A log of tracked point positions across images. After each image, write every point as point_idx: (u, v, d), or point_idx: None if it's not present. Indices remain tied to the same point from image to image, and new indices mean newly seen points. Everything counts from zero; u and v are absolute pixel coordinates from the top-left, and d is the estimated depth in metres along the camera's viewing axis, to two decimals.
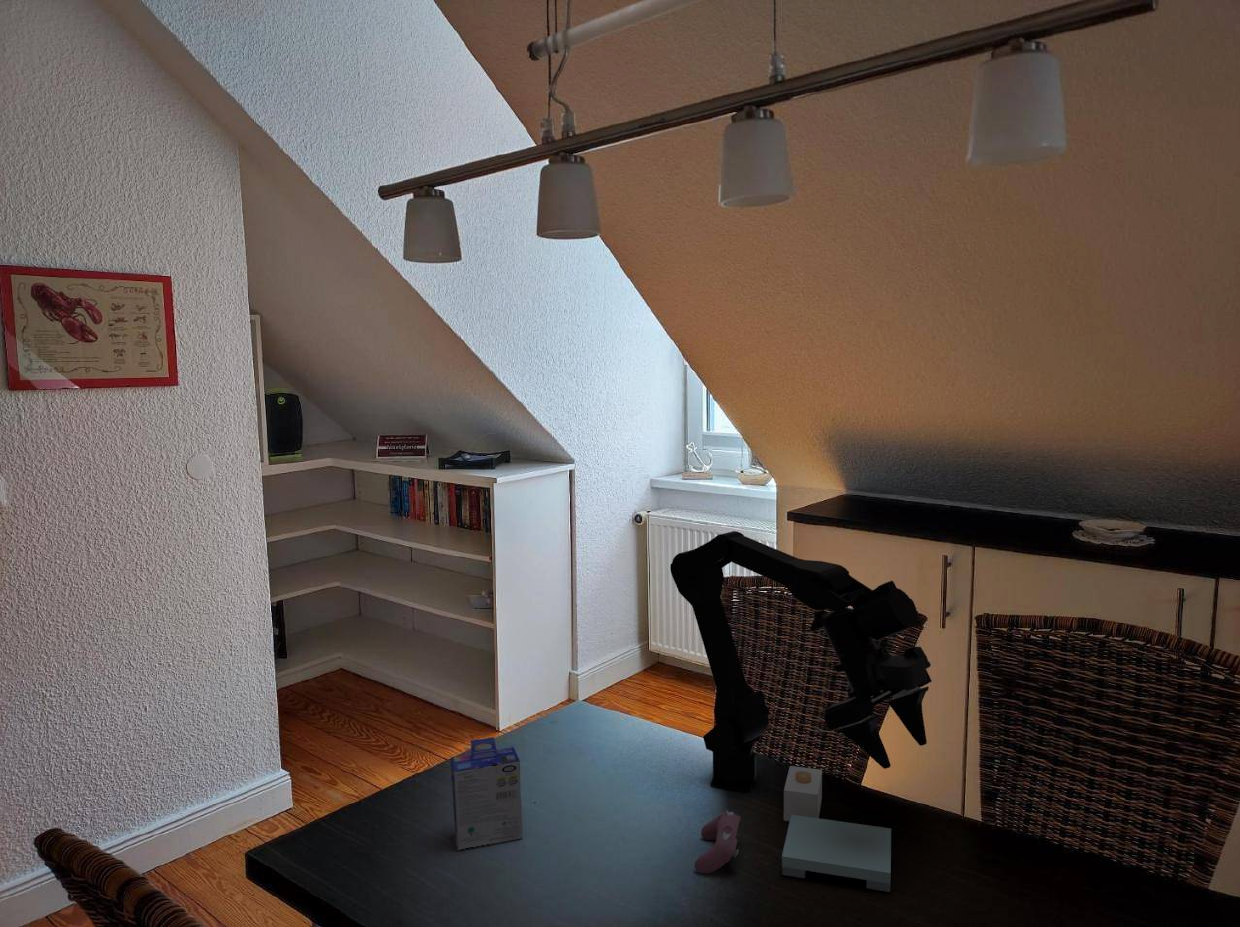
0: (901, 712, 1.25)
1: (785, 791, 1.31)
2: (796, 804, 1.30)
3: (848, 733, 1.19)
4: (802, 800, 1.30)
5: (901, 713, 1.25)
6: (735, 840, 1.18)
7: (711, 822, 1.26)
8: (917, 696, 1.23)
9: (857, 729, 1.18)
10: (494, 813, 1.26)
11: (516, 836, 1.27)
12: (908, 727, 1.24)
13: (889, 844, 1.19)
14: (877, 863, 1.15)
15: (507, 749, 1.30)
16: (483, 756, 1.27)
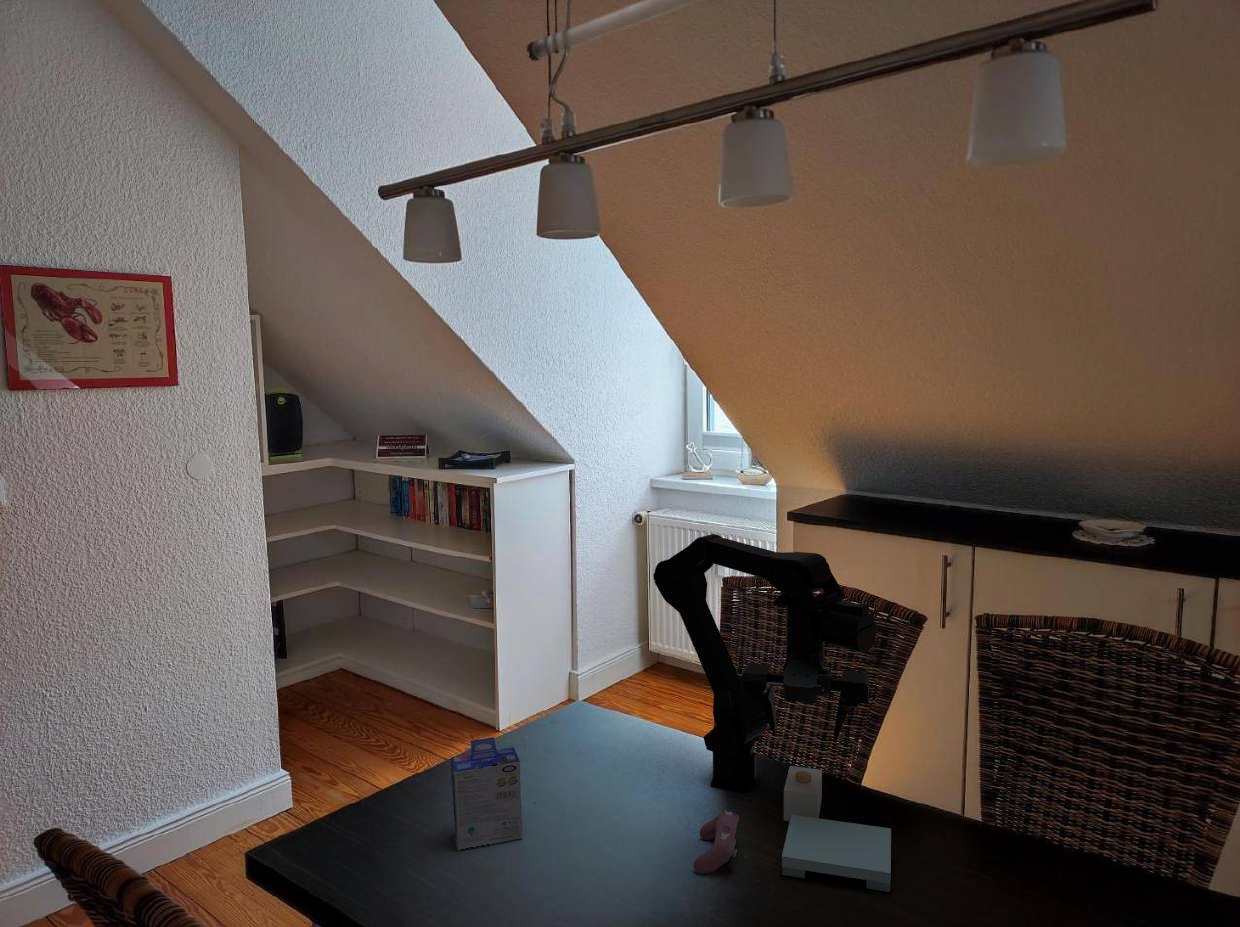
0: None
1: (785, 791, 1.31)
2: (796, 804, 1.30)
3: None
4: (802, 800, 1.30)
5: None
6: (734, 840, 1.18)
7: (710, 822, 1.26)
8: (838, 705, 1.28)
9: None
10: (494, 813, 1.26)
11: (516, 836, 1.27)
12: None
13: (889, 844, 1.19)
14: (877, 863, 1.15)
15: (507, 749, 1.30)
16: (483, 756, 1.27)
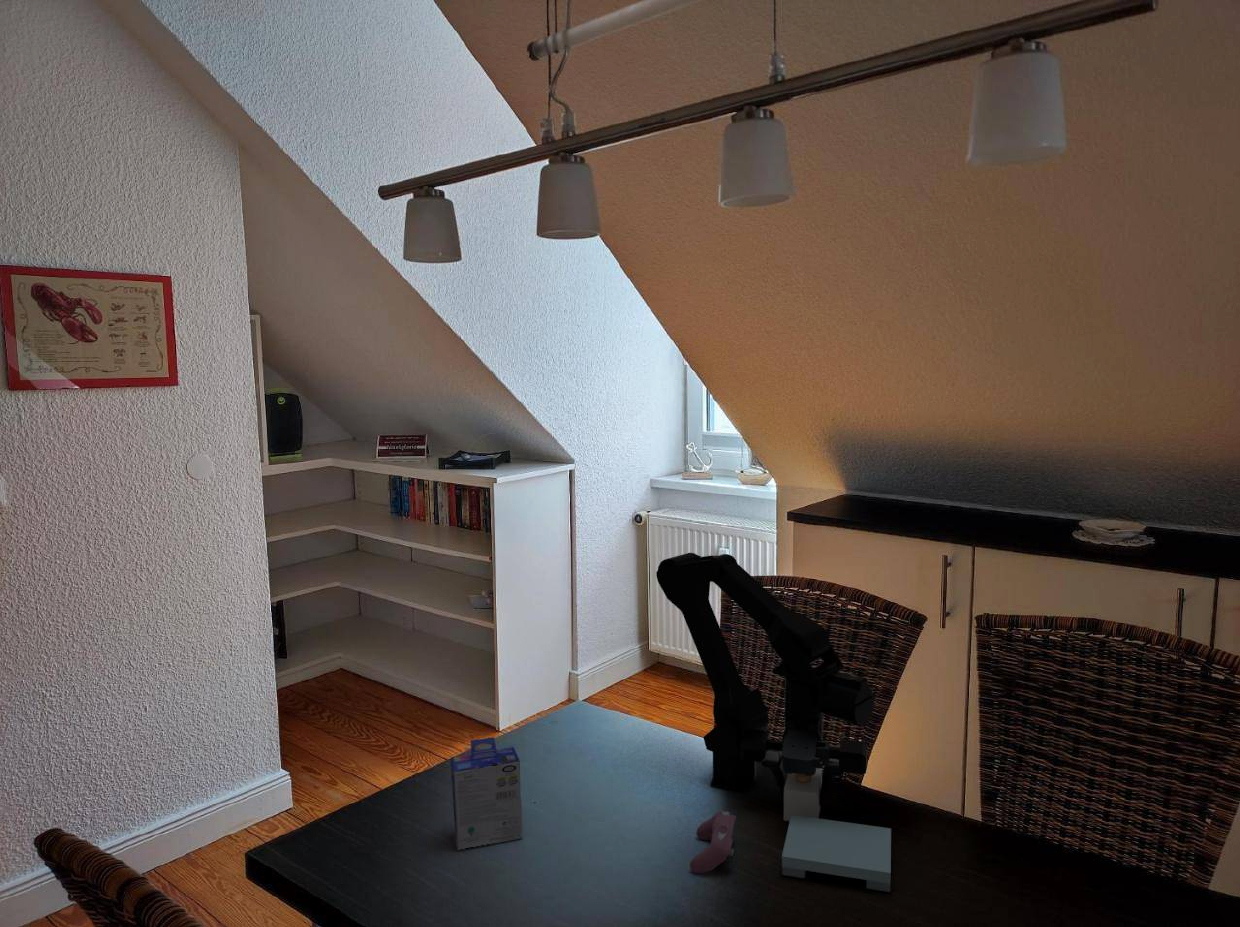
0: None
1: (785, 790, 1.31)
2: (796, 803, 1.30)
3: None
4: (802, 799, 1.30)
5: None
6: (730, 840, 1.18)
7: (706, 822, 1.26)
8: (823, 773, 1.30)
9: None
10: (494, 813, 1.26)
11: (516, 836, 1.27)
12: None
13: (889, 844, 1.19)
14: (877, 863, 1.15)
15: (507, 749, 1.30)
16: (483, 756, 1.27)
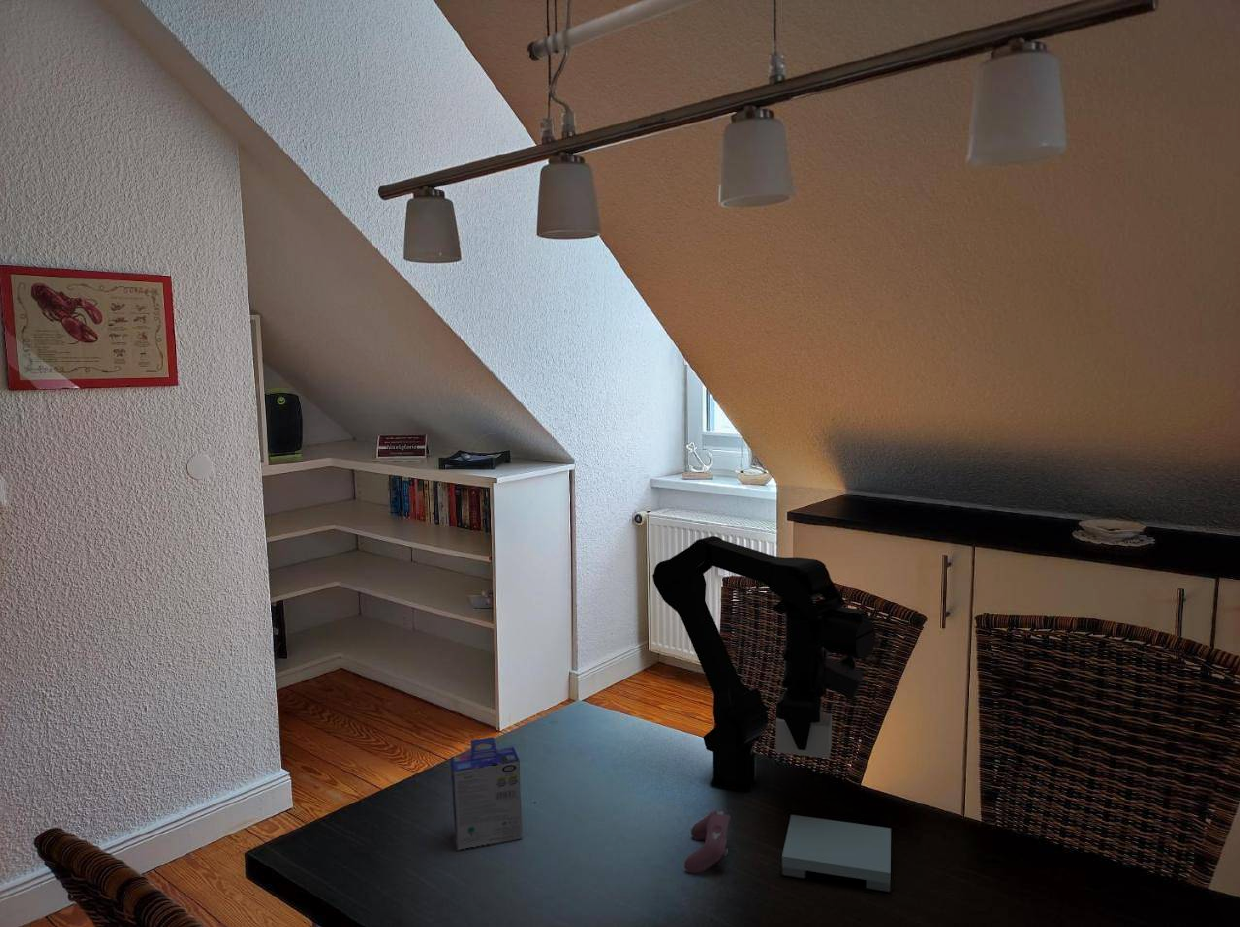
0: None
1: (829, 727, 1.29)
2: (830, 734, 1.31)
3: None
4: None
5: None
6: (725, 839, 1.18)
7: (701, 822, 1.26)
8: (821, 695, 1.34)
9: None
10: (494, 813, 1.26)
11: (516, 836, 1.27)
12: None
13: (889, 844, 1.19)
14: (877, 863, 1.15)
15: (507, 749, 1.30)
16: (483, 756, 1.27)
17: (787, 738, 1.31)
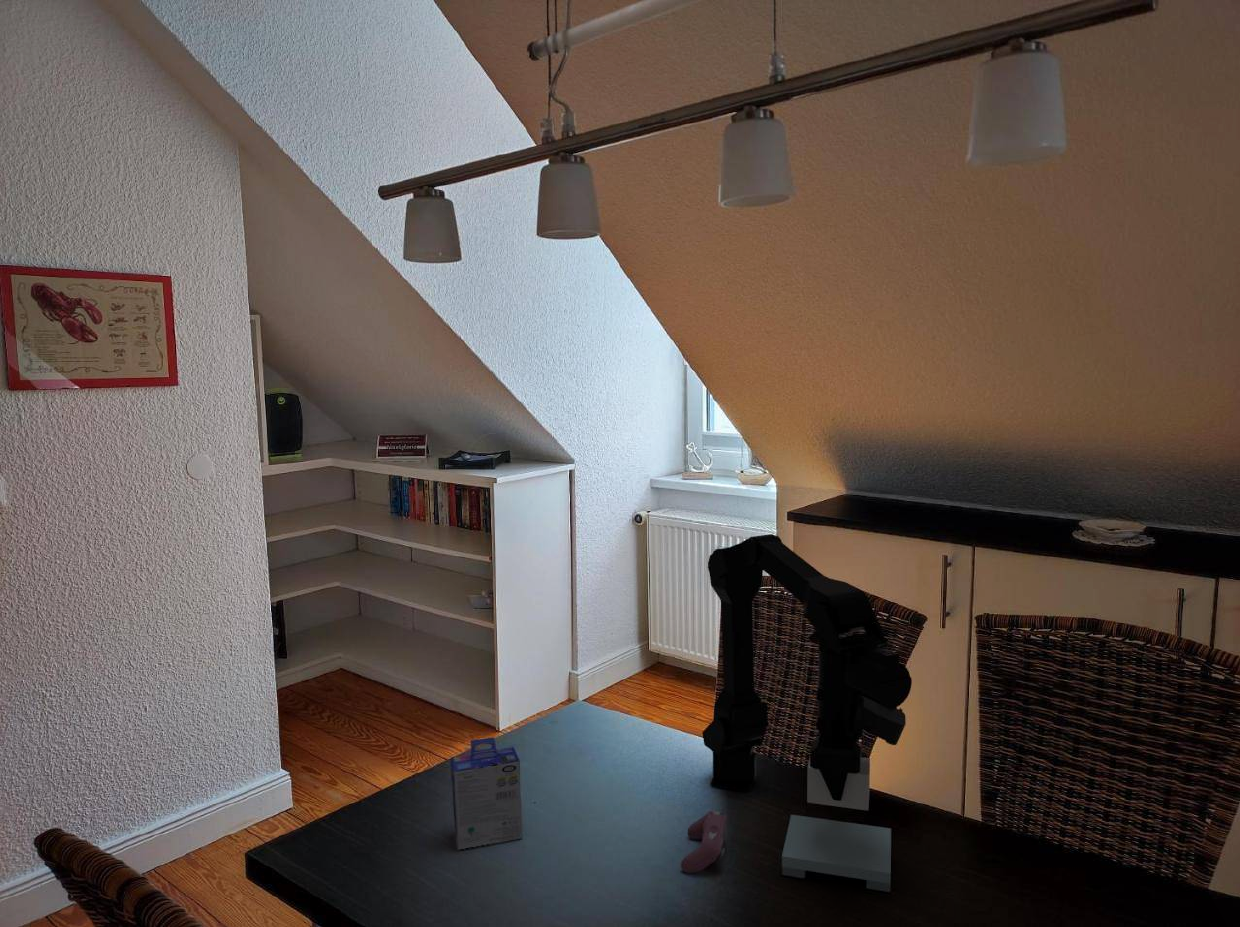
0: None
1: (869, 775, 1.15)
2: None
3: None
4: (869, 774, 1.18)
5: None
6: (721, 839, 1.18)
7: (697, 821, 1.26)
8: (857, 738, 1.20)
9: None
10: (494, 813, 1.26)
11: (516, 836, 1.27)
12: None
13: (889, 844, 1.19)
14: (877, 863, 1.15)
15: (507, 749, 1.30)
16: (483, 756, 1.27)
17: (821, 787, 1.17)
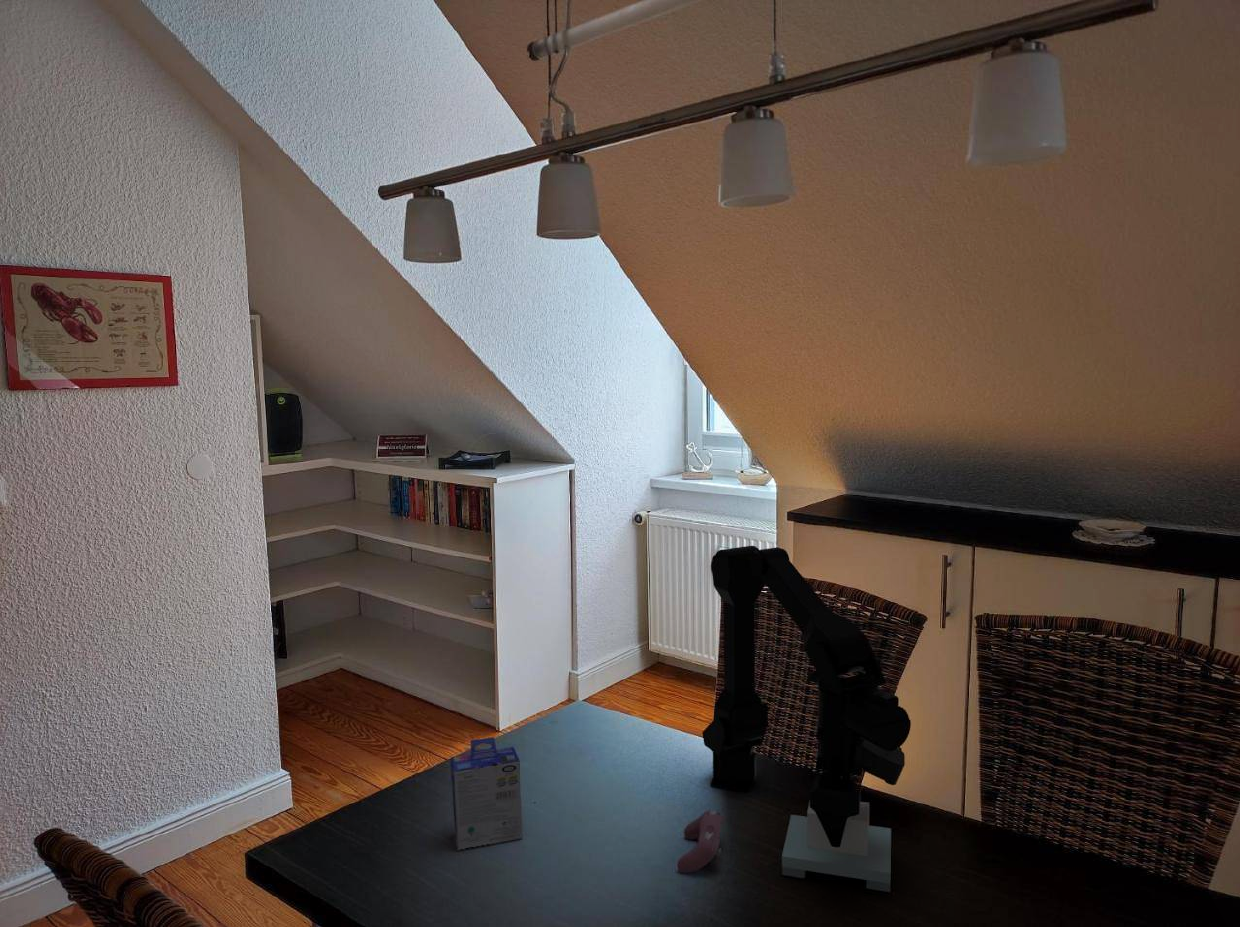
0: (831, 776, 1.24)
1: (868, 821, 1.16)
2: None
3: None
4: None
5: (830, 777, 1.24)
6: (718, 839, 1.18)
7: (694, 822, 1.26)
8: None
9: None
10: (494, 813, 1.26)
11: (516, 836, 1.27)
12: None
13: (889, 844, 1.19)
14: (877, 863, 1.15)
15: (507, 749, 1.30)
16: (483, 756, 1.27)
17: (820, 832, 1.18)
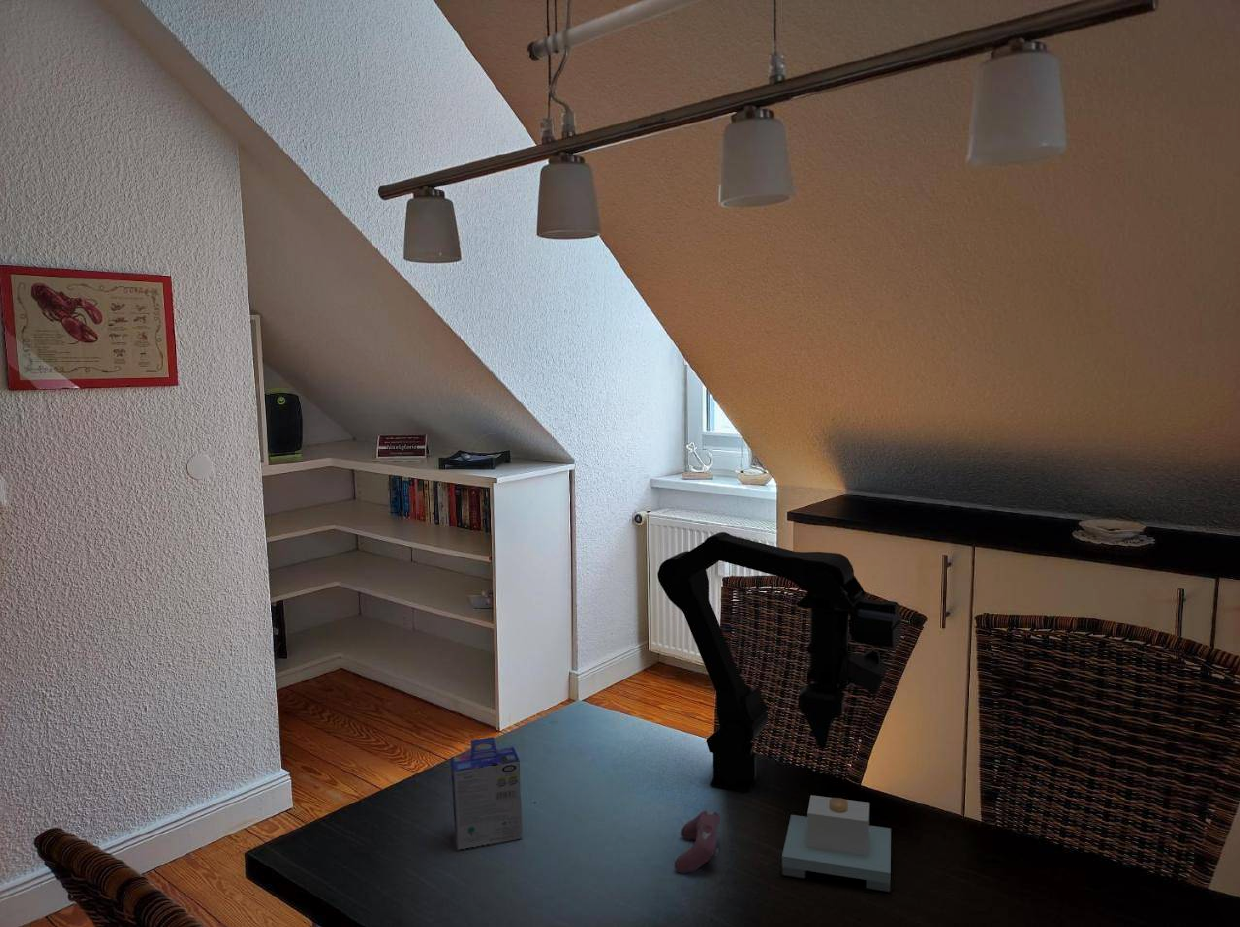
0: None
1: (868, 821, 1.16)
2: None
3: (807, 712, 1.28)
4: None
5: None
6: (715, 839, 1.18)
7: (691, 822, 1.26)
8: (846, 684, 1.37)
9: None
10: (494, 813, 1.26)
11: (516, 836, 1.27)
12: None
13: (889, 844, 1.19)
14: (877, 863, 1.15)
15: (507, 749, 1.30)
16: (483, 756, 1.27)
17: (820, 832, 1.18)
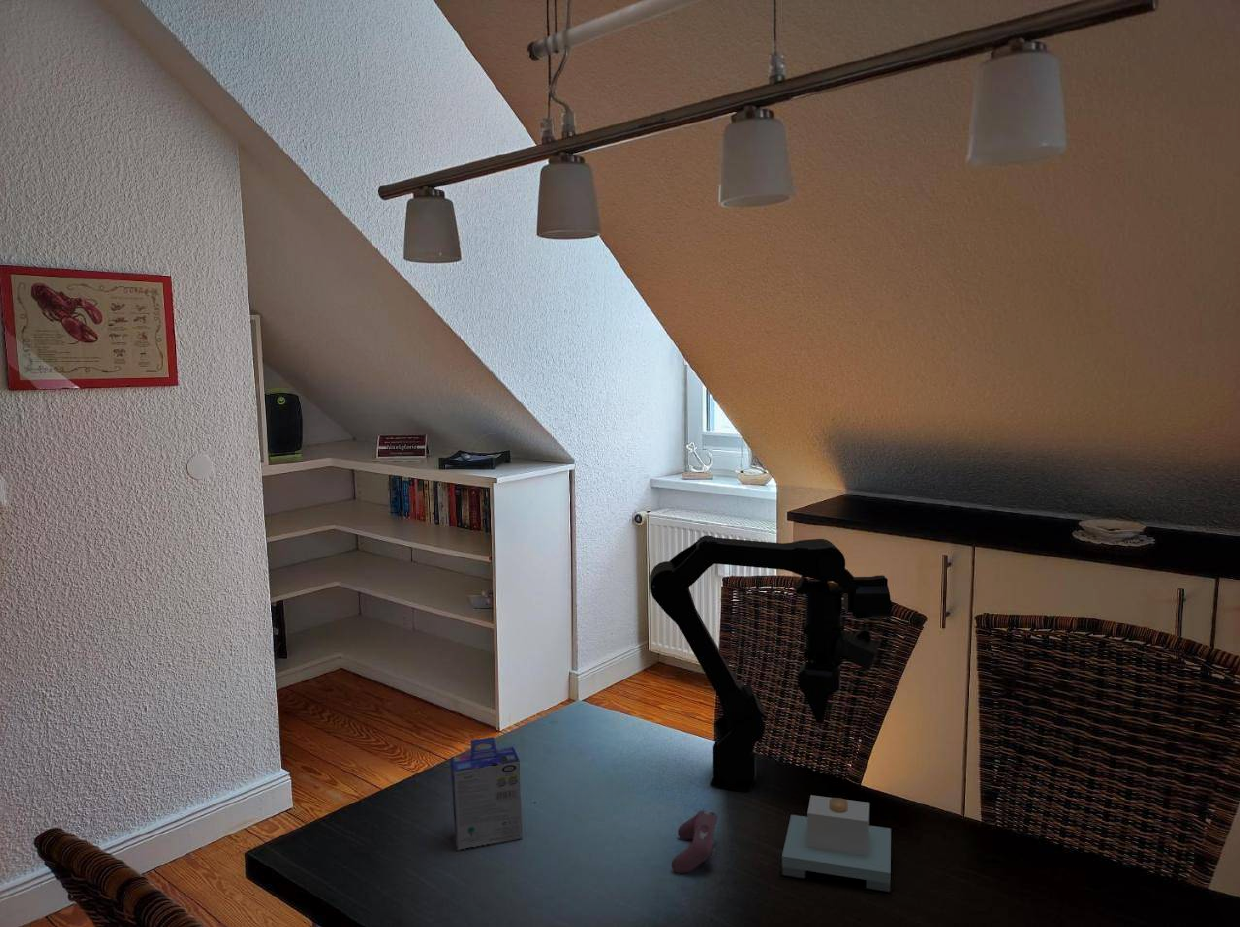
0: None
1: (868, 821, 1.16)
2: None
3: (805, 690, 1.35)
4: None
5: None
6: (712, 839, 1.18)
7: (688, 821, 1.26)
8: (839, 663, 1.45)
9: None
10: (494, 813, 1.26)
11: (516, 836, 1.27)
12: None
13: (889, 844, 1.19)
14: (877, 863, 1.15)
15: (507, 749, 1.30)
16: (483, 756, 1.27)
17: (820, 832, 1.18)
